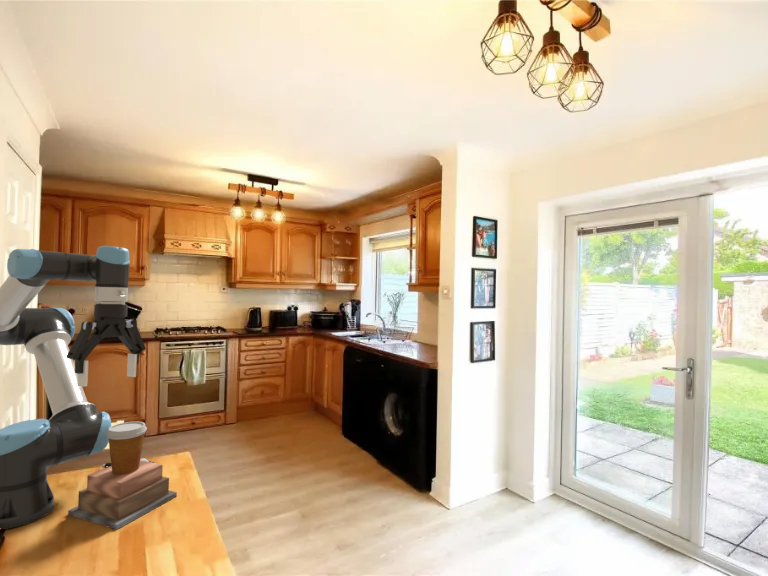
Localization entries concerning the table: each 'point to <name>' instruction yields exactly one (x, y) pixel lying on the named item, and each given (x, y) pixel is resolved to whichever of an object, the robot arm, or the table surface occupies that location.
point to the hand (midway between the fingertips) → (108, 381)
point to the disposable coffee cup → (126, 446)
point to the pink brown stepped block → (122, 495)
